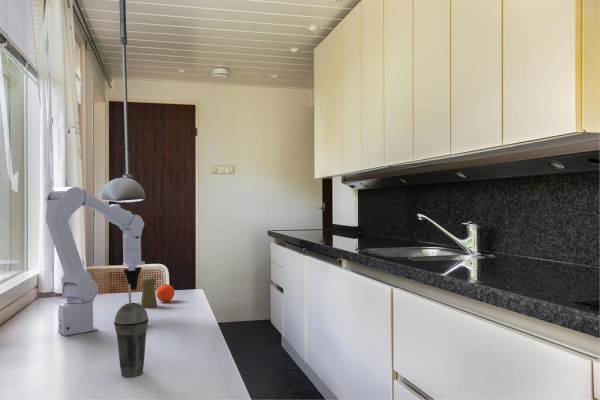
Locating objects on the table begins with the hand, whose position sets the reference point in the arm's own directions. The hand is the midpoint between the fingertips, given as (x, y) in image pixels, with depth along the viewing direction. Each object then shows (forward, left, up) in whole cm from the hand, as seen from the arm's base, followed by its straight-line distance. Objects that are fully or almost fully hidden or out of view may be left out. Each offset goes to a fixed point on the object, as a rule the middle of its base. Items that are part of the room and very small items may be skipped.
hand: (132, 289), depth 162 cm
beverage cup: (-22, -56, -10) cm, 61 cm away
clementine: (+20, +19, -10) cm, 29 cm away
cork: (+11, +14, -10) cm, 20 cm away
